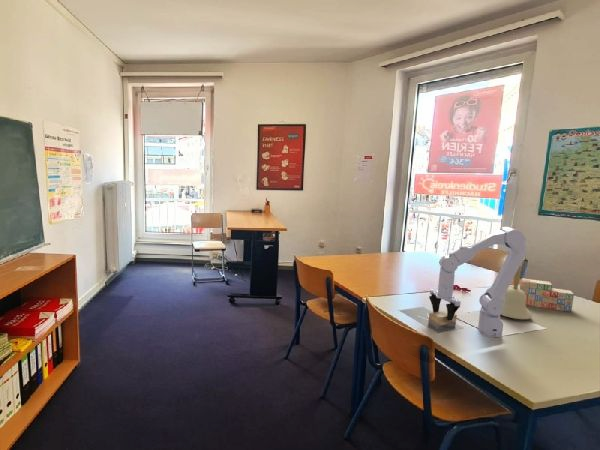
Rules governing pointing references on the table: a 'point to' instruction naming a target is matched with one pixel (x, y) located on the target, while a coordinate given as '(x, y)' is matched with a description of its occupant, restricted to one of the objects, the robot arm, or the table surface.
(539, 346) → the table surface
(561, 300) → the stack of blocks
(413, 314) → the slate board
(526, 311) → the handbell
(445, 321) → the felt eraser
